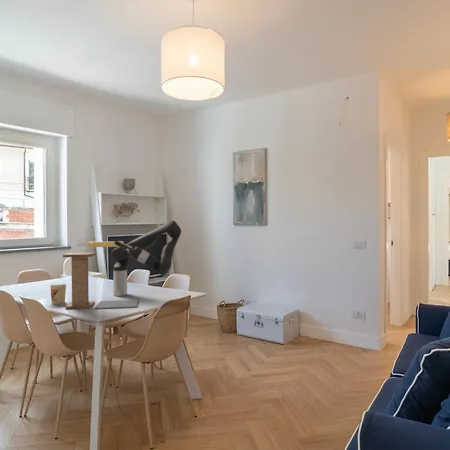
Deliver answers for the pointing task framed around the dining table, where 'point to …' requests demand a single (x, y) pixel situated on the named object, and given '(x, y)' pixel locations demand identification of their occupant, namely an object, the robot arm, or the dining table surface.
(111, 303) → the grey mat
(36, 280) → the dining table surface
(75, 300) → the walnut stand
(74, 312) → the dining table surface
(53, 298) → the coffee cup
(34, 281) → the dining table surface
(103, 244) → the mustard bar
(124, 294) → the robot arm
